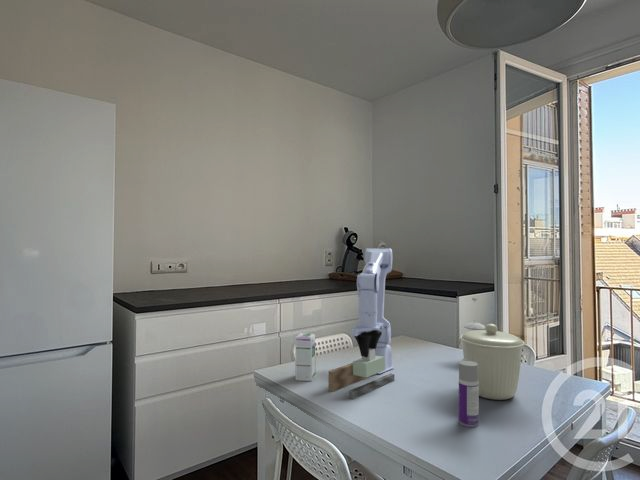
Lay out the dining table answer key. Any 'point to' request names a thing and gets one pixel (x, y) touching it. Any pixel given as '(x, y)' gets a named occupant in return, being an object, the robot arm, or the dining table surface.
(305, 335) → the syrup box
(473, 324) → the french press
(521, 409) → the dining table surface
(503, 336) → the canister
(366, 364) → the mint block with knob
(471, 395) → the container
